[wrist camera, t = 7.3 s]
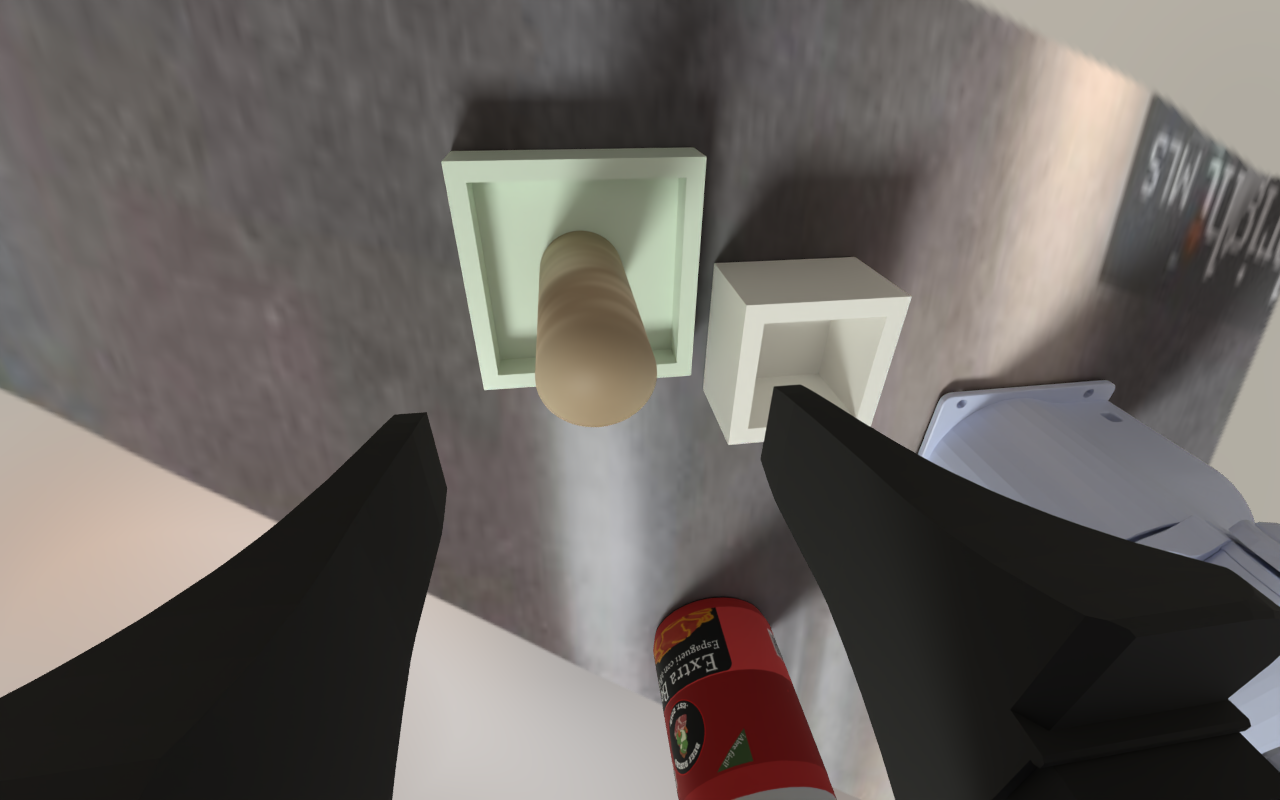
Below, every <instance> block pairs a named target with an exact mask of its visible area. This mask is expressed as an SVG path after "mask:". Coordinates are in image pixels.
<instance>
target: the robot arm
mask: <svg viewBox="0 0 1280 800" xmlns="http://www.w3.org/2000/svg"><path fill="white" fill-rule="evenodd" d="M1114 390H1115V385H1114V384H1113V383H1112V382H1110V381H1108V380H1098V381H1086V382H1074V383H1061V384H1049V385H1036V386H1024V387H1011V388H999V389H986V390H974V391H961V392H951V393H947V394H945V395H943V396H942V397H941V398H940V400H939V402H938V404H937V407H936V409H935V412H934V414H933V417H932V419H931V422H930V424H929V427H928V430H927V432H926V435H925V437H924V440H923V442H922V445H921V447H920V450H919V452H918V454H916V453H914V452H913V451H911V450H909V449H907V448H905V447H903V446H902V445H900V444H898V443H897V442H895V441H893V440H891V439H890V438H888V437H886V436H885V435H883V434H881V433H880V432H878V431H876V430H875V429H873V428H871V427H870V426H868V425H867V424H865V423H863V422H862V421H860V420H859V419H857V418H855V417H854V416H852V415H851V414H849V413H847V412H846V411H844V410H843V409H841V408H840V407H838V406H836V405H835V404H833V403H832V402H830V401H828V400H827V399H825V398H824V397H822V396H820V395H819V394H817V393H815V392H814V391H812V390H810V389H808V388H807V387H805V386H803V385H801V384H799V385H786V386H774V387H773V393H772V399H771V404H770V410H769V415H768V421H767V427H766V432H765V438H764V443H763V449H762V454H761V462H762V465H763V468H764V471H765V474H766V477H767V480H768V483H769V486H770V488H771V491H772V494H773V497H774V499H775V501H776V503H777V505H778V507H779V509H780V511H781V513H782V515H783V517H784V519H785V521H786V523H787V525H788V527H789V529H790V531H791V533H792V535H793V537H794V539H795V541H796V542H797V544H798V546H799V548H800V550H801V552H802V554H803V556H804V558H805V560H806V562H807V564H808V566H809V568H810V569H811V571H812V573H813V575H814V577H815V579H816V581H817V583H818V585H819V587H820V589H821V591H822V593H823V596H824V598H825V600H826V602H827V604H828V607H829V609H830V612H831V614H832V617H833V619H834V622H835V624H836V627H837V630H838V632H839V635H840V637H841V640H842V642H843V645H844V647H845V650H846V653H847V656H848V658H849V661H850V664H851V667H852V669H853V672H854V675H855V678H856V680H857V683H858V686H859V689H860V691H861V694H862V697H863V700H864V703H865V706H866V709H867V712H868V715H869V718H870V721H871V724H872V727H873V730H874V733H875V736H876V739H877V742H878V745H879V748H880V751H881V754H882V757H883V761H884V764H885V767H886V771H887V774H888V777H889V780H890V784H891V787H892V790H893V794H894V797H895V800H1280V524H1278V523H1268V522H1258V523H1255V522H1254V518H1253V515H1252V513H1251V510H1250V509H1249V507H1248V505H1247V503H1246V501H1245V500H1244V498H1243V496H1242V495H1241V494H1240V492H1239V491H1238V490H1237V489H1236V487H1235V486H1234V485H1233V484H1232V483H1231V482H1230V481H1229V480H1228V479H1227V478H1226V477H1225V476H1224V475H1222V474H1221V473H1220V472H1218V471H1217V470H1215V469H1214V468H1213V467H1211V466H1209V465H1208V464H1206V463H1205V462H1203V461H1202V460H1200V459H1198V458H1197V457H1195V456H1194V455H1192V454H1191V453H1189V452H1187V451H1186V450H1184V449H1183V448H1181V447H1180V446H1178V445H1177V444H1175V443H1173V442H1172V441H1170V440H1169V439H1167V438H1166V437H1164V436H1162V435H1161V434H1159V433H1158V432H1156V431H1155V430H1153V429H1151V428H1150V427H1148V426H1147V425H1145V424H1144V423H1142V422H1140V421H1139V420H1137V419H1136V418H1134V417H1133V416H1131V415H1130V414H1128V413H1126V412H1125V411H1123V410H1122V409H1120V408H1119V407H1117V406H1115V405H1114V404H1112V403H1111V402H1109V401H1108V400H1109V399H1110V397H1111V395H1112V394H1113V392H1114ZM959 401H960V402H959ZM446 493H447V486H446V483H445V479H444V475H443V472H442V468H441V464H440V460H439V457H438V453H437V449H436V445H435V442H434V438H433V434H432V431H431V427H430V423H429V419H428V416H427V412H424V413H411V414H398V415H394V416H393V417H392V418H390V419H389V420H388V421H387V422H386V423H385V424H384V425H383V426H382V427H381V428H380V429H379V430H378V431H377V432H376V433H375V434H374V435H373V436H372V437H371V438H370V439H369V440H368V441H367V442H366V443H365V444H364V445H363V446H362V447H361V448H360V449H359V450H358V451H357V452H356V453H355V454H354V455H353V456H352V457H350V458H349V459H348V460H347V461H346V462H345V463H344V464H343V465H342V466H341V467H340V468H339V469H338V470H337V471H336V472H335V473H334V474H333V475H332V476H331V477H330V478H329V479H327V480H326V481H325V482H324V483H323V484H322V485H321V486H320V487H319V488H317V489H316V490H315V491H314V492H313V493H312V494H310V495H309V496H308V497H307V498H306V499H305V500H304V501H302V502H301V503H300V504H299V505H298V506H297V507H296V508H294V509H293V510H292V511H291V512H290V513H289V514H288V515H286V516H285V517H284V518H283V519H282V520H281V521H279V522H278V523H277V524H276V525H274V526H273V527H272V528H271V529H270V530H268V531H267V532H266V533H264V534H263V535H262V536H261V537H259V538H258V539H257V540H255V541H254V542H253V543H251V544H250V545H249V546H247V547H246V548H245V549H243V550H242V551H241V552H239V553H238V554H237V555H235V556H234V557H233V558H231V559H230V560H229V561H227V562H226V563H224V564H223V565H222V566H220V567H219V568H217V569H216V570H215V571H213V572H212V573H210V574H209V575H207V576H206V577H204V578H203V579H201V580H199V581H198V582H197V583H195V584H193V585H192V586H190V587H189V588H187V589H186V590H184V591H183V592H181V593H180V594H178V595H177V596H175V597H174V598H172V599H171V600H169V601H168V602H166V603H165V604H163V605H162V606H160V607H158V608H157V609H155V610H154V611H152V612H151V613H149V614H148V615H146V616H144V617H143V618H141V619H140V620H138V621H137V622H135V623H133V624H131V625H130V626H128V627H126V628H125V629H123V630H121V631H120V632H118V633H116V634H115V635H113V636H112V637H110V638H108V639H106V640H105V641H103V642H101V643H100V644H98V645H96V646H94V647H92V648H91V649H89V650H87V651H85V652H84V653H82V654H80V655H78V656H77V657H75V658H73V659H71V660H69V661H68V662H66V663H64V664H62V665H61V666H59V667H57V668H55V669H54V670H52V671H50V672H48V673H46V674H44V675H42V676H41V677H39V678H37V679H35V680H34V681H32V682H30V683H28V684H26V685H24V686H22V687H20V688H18V689H16V690H14V691H12V692H10V693H8V694H7V695H5V696H3V697H1V698H0V800H392V796H393V786H394V778H395V769H396V761H397V753H398V746H399V738H400V731H401V723H402V715H403V707H404V701H405V695H406V688H407V681H408V675H409V668H410V661H411V656H412V651H413V646H414V642H415V637H416V633H417V629H418V625H419V621H420V617H421V614H422V610H423V605H424V602H425V598H426V594H427V590H428V586H429V583H430V579H431V575H432V571H433V567H434V563H435V559H436V555H437V551H438V547H439V543H440V539H441V535H442V529H443V521H444V513H445V503H446Z"/></svg>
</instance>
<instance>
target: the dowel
mask: <svg viewBox="0 0 1280 800" xmlns="http://www.w3.org/2000/svg"><path fill="white" fill-rule="evenodd" d="M656 380H657V365H656V361H655V357H654V354H653V351H652V349H651V346H650V343H649V340H648V337H647V334H646V331H645V328H644V325H643V322H642V320H641V317H640V314H639V311H638V308H637V305H636V302H635V299H634V296H633V293H632V290H631V288H630V285H629V282H628V279H627V276H626V273H625V270H624V267H623V264H622V261H621V259H620V256H619V254H618V252H617V250H616V249H615V247H614V246H613V245H612V244H611V243H610V242H609V241H608V240H607V239H606V238H604V237H602V236H601V235H598V234H596V233H593V232H590V231H572V232H568V233H565V234H563V235H561V236H559V237H557V238H556V239H555V240H553V241H552V242H551V243H550V244H549V246H548V247H547V248H546V250H545V252H544V253H543V256H542V258H541V262H540V272H539V295H538V319H537V342H536V365H535V383H536V388H537V391H538V394H539V396H540V398H541V400H542V401H543V403H544V404H545V405H546V407H547V408H548V409H549V410H550V411H551V412H552V413H554V414H555V415H556V416H557V417H559V418H561V419H563V420H565V421H567V422H569V423H572V424H575V425H579V426H585V427H602V426H608V425H612V424H616V423H618V422H621V421H623V420H625V419H627V418H629V417H631V416H632V415H634V414H635V413H636V412H638V411H639V410H640V409H641V408H642V407H643V406H644V405H645V404H646V402H647V401H648V400H649V398H650V396H651V394H652V393H653V390H654V388H655V384H656Z"/></svg>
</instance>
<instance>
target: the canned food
mask: <svg viewBox="0 0 1280 800" xmlns="http://www.w3.org/2000/svg"><path fill="white" fill-rule="evenodd" d="M653 652H654V659H655V665H656V670H657V676H658V682H659V688H660V694H661V700H662V705H663V711H664V717H665V723H666V728H667V735H668V740H669V746H670V752H671V758H672V764H673V770H674V776H675V781H676V787H677V793H678V799H679V800H837V799H836V796H835V794H834V791H833V788H832V786H831V783H830V781H829V777H828V774H827V772H826V769H825V766H824V764H823V761H822V759H821V756H820V754H819V751H818V748H817V746H816V743H815V741H814V738H813V736H812V733H811V730H810V728H809V725H808V723H807V720H806V717H805V715H804V712H803V710H802V707H801V705H800V702H799V699H798V697H797V694H796V692H795V689H794V687H793V684H792V681H791V679H790V676H789V674H788V671H787V669H786V666H785V663H784V661H783V658H782V656H781V653H780V651H779V648H778V645H777V643H776V640H775V638H774V635H773V633H772V630H771V627H770V625H769V623H768V622H767V620H766V619H765V617H764V616H763V615H762V614H761V612H760V611H759V610H758V609H757V608H756V607H755V606H754V605H752V604H750V603H748V602H746V601H743V600H739V599H735V598H726V597H719V598H709V599H703V600H699V601H695V602H692V603H690V604H687V605H685V606H683V607H681V608H679V609H677V610H676V611H674V612H673V613H672V614H670V615H669V616H668V617H667V618H665V619H664V621H663V622H662V623H661V624H660V625H659V627H658V629H657V631H656V635H655V641H654V649H653Z"/></svg>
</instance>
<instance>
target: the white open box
mask: <svg viewBox="0 0 1280 800" xmlns="http://www.w3.org/2000/svg"><path fill="white" fill-rule="evenodd" d="M911 297H912V296H910V295H909V294H908V293H906V292H905V291H903V290H902V289H900V288H899V287H897V286H896V285H895V284H893V283H892V282H890V281H889V280H887V279H886V278H885V277H883V276H882V275H880V274H879V273H877V272H876V271H874V270H873V269H872V268H870V267H869V266H867V265H866V264H864V263H863V262H862V261H860V260H859V259H857V258H856V257H844V258H821V259H798V260H775V261H753V262H730V263H714V273H713V284H712V295H711V306H710V317H709V328H708V340H707V351H706V362H705V373H704V384H703V390H704V392H705V394H706V397H707V399H708V401H709V403H710V406H711V408H712V410H713V412H714V414H715V417H716V419H717V421H718V423H719V425H720V428H721V430H722V432H723V434H724V436H725V439H726V441H727V443H728V445H733V444H744V443H755V442H764V438H765V432H766V427H767V421H768V415H769V410H770V404H771V399H772V393H773V387H774V386H786V385H799V384H801V385H803V386H805V387H807V388H808V389H810V390H812V391H814V392H815V393H817V394H819V395H820V396H822V397H824V398H825V399H827V400H828V401H830V402H832V403H833V404H835V405H836V406H838V407H840V408H841V409H843V410H844V411H846V412H847V413H849V414H851V415H852V416H854V417H855V418H857V419H859V420H860V421H862V422H863V423H865V424H867V425H868V426H870V427H871V424H872V420H873V417H874V414H875V411H876V408H877V405H878V401H879V398H880V395H881V392H882V389H883V386H884V383H885V379H886V376H887V373H888V370H889V367H890V364H891V360H892V357H893V354H894V351H895V348H896V345H897V342H898V338H899V335H900V332H901V329H902V326H903V323H904V319H905V316H906V313H907V310H908V307H909V304H910V301H911Z"/></svg>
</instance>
